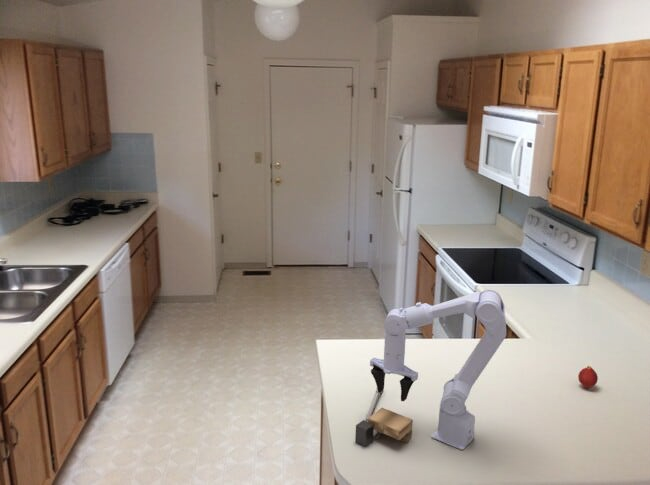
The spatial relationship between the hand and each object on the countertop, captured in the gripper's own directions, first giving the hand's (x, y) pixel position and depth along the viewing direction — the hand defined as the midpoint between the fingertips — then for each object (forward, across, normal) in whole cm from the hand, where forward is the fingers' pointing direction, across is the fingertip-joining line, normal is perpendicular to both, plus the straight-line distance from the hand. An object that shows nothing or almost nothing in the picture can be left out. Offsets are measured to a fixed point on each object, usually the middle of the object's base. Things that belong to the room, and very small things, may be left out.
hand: (392, 395), depth 165 cm
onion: (+10, +39, +60) cm, 72 cm away
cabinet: (+10, +3, -6) cm, 12 cm away
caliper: (+10, -9, +6) cm, 15 cm away
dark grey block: (+10, -1, -9) cm, 14 cm away
